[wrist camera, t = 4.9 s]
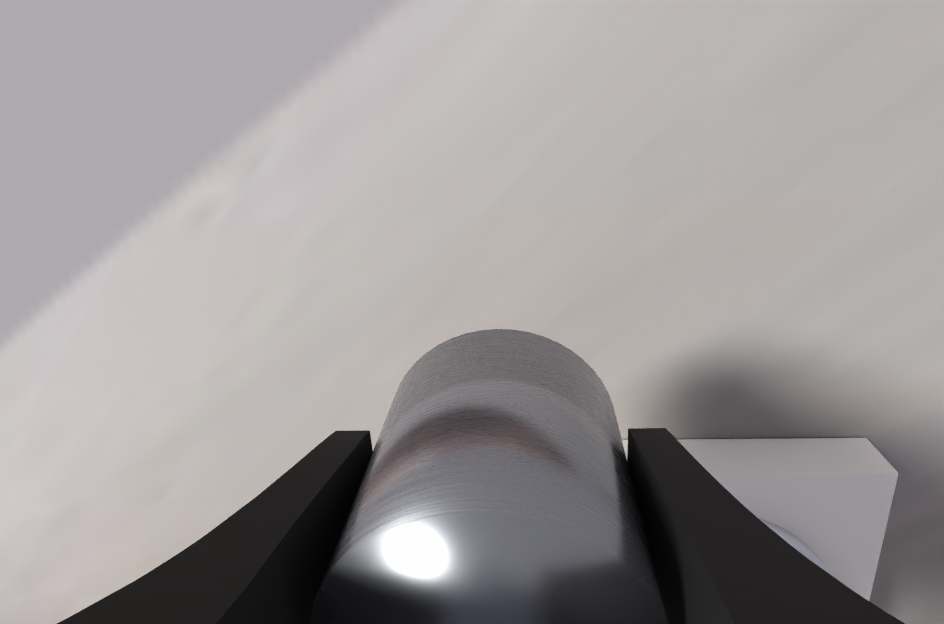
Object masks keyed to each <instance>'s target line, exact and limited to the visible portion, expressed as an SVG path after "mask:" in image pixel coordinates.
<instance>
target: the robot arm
mask: <svg viewBox="0 0 944 624" xmlns="http://www.w3.org/2000/svg"><path fill="white" fill-rule="evenodd" d="M372 453H373V451H372V444H371V437H370V431H335V432H334V433H333V434H331V435H330V436H329V437H328V438H326V439H325V440H324V441H323V442H321V443H320V444H319V445H318V446H317V447H315V448H314V449H313V450H312V451H311V452H310V453H308V454H307V455H306V456H305V457H304V458H302V459H301V460H300V461H299V462H298V463H297V464H295V465H294V466H293V467H292V468H291V469H290V470H288V471H287V472H286V473H285V474H283V475H282V476H281V477H280V478H279V479H277V480H276V481H275V482H274V483H273V484H271V485H270V486H269V487H268V488H267V489H265V490H264V491H263V492H262V493H261V494H259V495H258V496H257V497H256V498H254V499H253V500H252V501H250V502H249V503H248V504H246V505H245V506H244V507H242V508H241V509H240V510H238V511H237V512H236V513H234V514H233V515H232V516H230V517H229V518H228V519H227V520H225V521H224V522H223V523H221V524H220V525H219V526H217V527H216V528H215V529H213V530H212V531H211V532H209V533H208V534H207V535H205V536H204V537H202V538H201V539H199V540H198V541H197V542H195V543H194V544H192V545H191V546H189V547H188V548H186V549H185V550H183V551H182V552H180V553H179V554H177V555H176V556H174V557H173V558H171V559H169V560H168V561H166V562H165V563H163V564H161V565H160V566H158V567H157V568H155V569H154V570H152V571H150V572H149V573H147V574H146V575H144V576H142V577H141V578H139V579H137V580H136V581H134V582H132V583H130V584H129V585H127V586H125V587H123V588H121V589H120V590H118V591H116V592H114V593H112V594H111V595H109V596H107V597H105V598H103V599H102V600H100V601H98V602H96V603H94V604H92V605H91V606H89V607H87V608H85V609H83V610H82V611H80V612H78V613H76V614H74V615H73V616H71V617H69V618H67V619H65V620H63V621H61V622H59V623H57V624H309V620H310V616H311V612H312V607H313V604H314V601H315V599H316V596H317V594H318V591H319V589H320V586H321V583H322V581H323V578H324V576H325V573H326V571H327V568H328V566H329V563H330V560H331V558H332V555H333V553H334V550H335V548H336V545H337V543H338V540H339V537H340V535H341V532H342V530H343V527H344V525H345V522H346V520H347V517H348V514H349V512H350V509H351V507H352V504H353V502H354V499H355V497H356V494H357V492H358V489H359V486H360V484H361V481H362V479H363V476H364V474H365V471H366V469H367V466H368V463H369V461H370V458H371V456H372ZM627 462H628V466H629V470H630V474H631V478H632V482H633V486H634V490H635V494H636V498H637V502H638V505H639V509H640V513H641V517H642V521H643V525H644V529H645V533H646V537H647V541H648V545H649V549H650V553H651V556H652V560H653V564H654V568H655V572H656V576H657V580H658V584H659V588H660V592H661V596H662V600H663V603H664V607H665V611H666V615H667V619H668V623H669V624H904V623H903V622H901V621H899V620H898V619H896V618H895V617H893V616H891V615H890V614H888V613H886V612H885V611H883V610H882V609H880V608H878V607H877V606H875V605H874V604H872V603H871V602H869V601H868V600H866V599H865V598H863V597H862V596H860V595H859V594H857V593H856V592H854V591H853V590H851V589H850V588H848V587H847V586H846V585H844V584H843V583H841V582H840V581H839V580H837V579H836V578H834V577H833V576H832V575H830V574H829V573H827V572H826V571H825V570H823V569H822V568H820V567H819V566H818V565H816V564H815V563H813V562H812V561H811V560H809V559H808V558H807V557H805V556H804V555H803V554H801V553H800V552H799V551H798V550H796V549H795V548H794V547H792V546H791V545H790V544H789V543H787V542H786V541H785V540H784V539H783V538H781V537H780V536H779V535H778V534H777V533H775V532H774V531H773V530H772V529H770V528H769V527H768V526H767V525H766V524H764V523H763V522H762V521H761V520H760V519H758V518H757V517H756V516H755V515H754V514H753V513H752V512H750V511H749V510H748V509H747V508H746V507H745V506H744V505H743V504H742V503H741V502H739V501H738V500H737V499H736V498H735V497H734V496H733V495H732V494H731V493H730V492H729V491H728V490H727V489H725V488H724V487H723V486H722V485H721V484H720V483H719V482H718V481H717V480H716V479H715V478H714V477H713V476H712V475H711V474H710V473H709V472H708V471H707V470H706V469H705V468H704V467H703V466H702V465H701V464H700V463H699V462H698V461H697V460H696V459H695V458H694V457H693V456H692V455H691V454H690V453H689V452H688V451H687V450H686V449H685V448H684V447H683V445H682V444H681V443H680V442H679V441H678V440H677V439H676V438H675V437H674V436H673V435H672V434H671V433H670V432H669V431H668V430H667V429H666V428H646V429H628V452H627Z"/></svg>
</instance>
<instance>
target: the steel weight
mask: <svg viewBox="0 0 944 624" xmlns="http://www.w3.org/2000/svg"><path fill="white" fill-rule="evenodd" d="M309 624H669V623H668V619H667V615H666V611H665V607H664V603H663V600H662V596H661V592H660V588H659V584H658V580H657V576H656V572H655V568H654V564H653V560H652V556H651V553H650V549H649V545H648V541H647V537H646V533H645V529H644V525H643V521H642V517H641V513H640V509H639V505H638V502H637V498H636V494H635V490H634V486H633V482H632V478H631V474H630V470H629V466H628V462H627V458H626V455H625V451H624V447H623V443H622V439H621V435H620V431H619V427H618V423H617V419H616V415H615V411H614V407H613V404H612V402H611V399H610V396H609V393H608V392H607V390H606V388H605V386H604V384H603V382H602V381H601V379H600V378H599V377H598V375H597V374H596V373H595V371H594V370H593V369H592V368H591V367H590V366H589V365H588V364H587V363H586V362H585V361H584V360H583V359H582V358H580V357H579V356H578V355H576V354H575V353H574V352H573V351H571V350H570V349H568V348H566V347H564V346H563V345H561V344H559V343H557V342H555V341H553V340H550V339H548V338H546V337H543V336H540V335H536V334H533V333H529V332H524V331H517V330H506V329H492V330H481V331H476V332H471V333H466V334H463V335H460V336H457V337H455V338H452V339H450V340H447V341H445V342H443V343H441V344H439V345H438V346H436V347H435V348H433V349H432V350H430V351H429V352H427V353H426V354H425V355H424V356H422V357H421V358H420V359H419V360H418V361H417V362H416V363H415V364H414V365H413V366H412V367H411V369H410V370H409V371H408V372H407V374H406V375H405V377H404V378H403V380H402V382H401V383H400V385H399V388H398V390H397V392H396V395H395V397H394V400H393V402H392V405H391V407H390V410H389V412H388V415H387V417H386V420H385V423H384V425H383V428H382V430H381V433H380V435H379V438H378V440H377V443H376V446H375V448H374V451H373V453H372V456H371V458H370V461H369V463H368V466H367V469H366V471H365V474H364V476H363V479H362V481H361V484H360V486H359V489H358V492H357V494H356V497H355V499H354V502H353V504H352V507H351V509H350V512H349V514H348V517H347V520H346V522H345V525H344V527H343V530H342V532H341V535H340V537H339V540H338V543H337V545H336V548H335V550H334V553H333V555H332V558H331V560H330V563H329V566H328V568H327V571H326V573H325V576H324V578H323V581H322V583H321V586H320V589H319V591H318V594H317V596H316V599H315V601H314V604H313V607H312V612H311V616H310V620H309Z"/></svg>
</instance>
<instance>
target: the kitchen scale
mask: <svg viewBox="0 0 944 624" xmlns="http://www.w3.org/2000/svg"><path fill="white" fill-rule="evenodd" d="M677 440H678V441H679V442H680V443H681V444H682V445H683V447H684V448H685V449H686V450H687V451H688V452H689V453H690V454H691V455H692V456H693V457H694V458H695V459H696V460H697V461H698V462H699V463H700V464H701V465H702V466H703V467H704V468H705V469H706V470H707V471H708V472H709V473H710V474H711V475H712V476H713V477H714V478H715V479H716V480H717V481H718V482H719V483H720V484H721V485H722V486H723V487H724V488H725V489H727V490H728V491H729V492H730V493H731V494H732V495H733V496H734V497H735V498H736V499H737V500H738V501H739V502H741V503H742V504H743V505H744V506H745V507H746V508H747V509H748V510H749V511H750V512H752V513H753V514H754V515H755V516H756V517H757V518H758V519H760V520H761V521H762V522H763V523H764V524H766V525H767V526H768V527H769V528H770V529H772V530H773V531H774V532H775V533H777V534H778V535H779V536H780V537H781V538H783V539H784V540H785V541H786V542H787V543H789V544H790V545H791V546H792V547H794V548H795V549H796V550H798V551H799V552H800V553H801V554H803V555H804V556H805V557H807V558H808V559H809V560H811V561H812V562H813V563H815V564H816V565H818V566H819V567H820V568H822V569H823V570H825V571H826V572H827V573H829V574H830V575H832V576H833V577H834V578H836V579H837V580H839V581H840V582H841V583H843V584H844V585H846V586H847V587H848V588H850V589H851V590H853V591H854V592H856V593H857V594H859V595H860V596H862V597H863V598H865V599H866V600H868V601H869V600H870V596H871V592H872V587H873V583H874V579H875V574H876V570H877V565H878V561H879V557H880V552H881V548H882V544H883V539H884V535H885V531H886V526H887V522H888V518H889V513H890V509H891V505H892V500H893V496H894V492H895V487H896V483H897V478H898V474H899V473H898V472H897V471H896V470H895V469H894V468H893V467H892V466H891V464H890V463H889V462H888V461H887V460H886V459H885V458H884V457H883V456H882V455H881V453H880V452H879V451H878V450H877V449H876V448H875V447H874V446H873V445H872V444H871V442H870V441H869V440H868V439H867V438H791V439H677ZM622 443H623V447H624V451H625V455H626V458H627V452H628V440H622Z"/></svg>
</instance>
